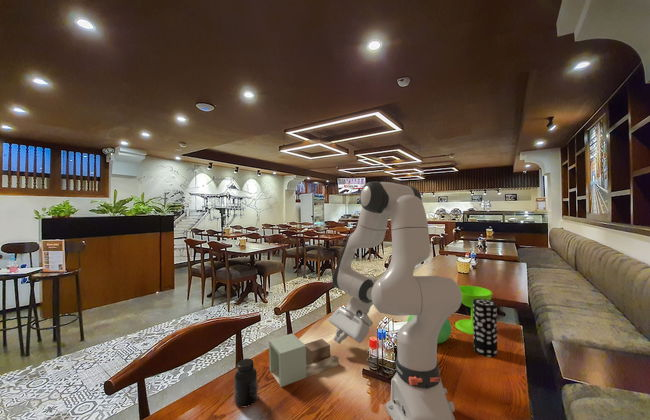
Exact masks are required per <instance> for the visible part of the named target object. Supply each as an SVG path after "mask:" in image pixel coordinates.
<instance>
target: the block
mask: <svg viewBox="0 0 650 420" xmlns="http://www.w3.org/2000/svg"><path fill="white" fill-rule="evenodd" d="M304 344H305V345H306V365H307V366H308V365H310V364H313V363H316V362H319V361H321V360H324V359H327V358H330V357H331V344H329V343H328V342H327V341H326V340H325V339H323V338H319V339H317V340H313V341H310V342H307V343H304Z"/></svg>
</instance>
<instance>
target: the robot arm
mask: <svg viewBox="0 0 650 420" xmlns="http://www.w3.org/2000/svg"><path fill="white" fill-rule="evenodd" d="M359 202H360V205H361V207H362V208H361V209H360V213H359V216H358V221H357V225H356V228H355V230H354V231H353V232H352V231H351V232H350V233H349V234H348V235H347V238H346V240H345V242H344V245H343V247H342V250H341V254H340V255H339V260H338V261H337V265H336V267H335V268H334V270H333V272H332V275H331V280H332V282H331V283H332V285H333V287H335V288H336V289H338V290H341V291H343V292H344V293H346V294H347V295H349V296H351V299H350V300H349V301H348V303H347V304H346V306H345V305H340V306H338V307H337V308H336V309H335V310H334V312H333V313H332V314H331V315H330V317H329V318H328V322H329V323H330V324H332V325H333V326H334V327H336V328H337V329H336V331H335V335H334V337H333V340H334V341H335V342H336V343H337V344H339V345H340V344H341V343H342V342H343V341H344V340H346V339H347V338H348V337H350V338H352V339H353V340H354V341H356V342H357V343H359V344H361V343H363V341H365V339H366V337H367V335H368V334H369V331H370V327H372V326H373V324H374V322H373V320H372V318H370V317H369V315H368V314H369V312H370V309H371V307H372V306H374V307H375V309H376V310H377V312H379V313H380V314H384V315H388V316H395V317H397V316H401V317H402V316H410V315H415V316H414V318H413V319H412V320H411V321H410V322H408V323H407V322H406V323H405V324H403V325H402V326H401V327H400V328H399V330H398V332H397V335H396V351H397V355H396V357H395V371H396V372H395V373H394V375H393V377H392V378H391V381H390V382H391V383H390V384H391V385H390V386H391V387H390V400H388V401H387V402H386V404H385V410H386V412H387V413H388V415H389V417H390V416H391V417H390V418H391V419H393V420H456V418H455V416H454V412H455V404H454V401H448V399H447V395H448V389H447V388H446V387H444V385H443V383H442V378H441V374H440V367H439V362H438V357H437V356H438V352H437V351H438V344H437V340H438V335H439V332H440V330H441V328H442V326H443V324H444V323H445V321H446V320H447V319H448V320H449V318H450V317H451V316H452V315H454V313H456V312H457V311H458V310H459V309H460V307H461V305H462V303H461V302H462V293H461V290H460V288H459V286H460V285H459V284H458V283H457V282H456V281H455V280H454V279H453V278H451V277H447V276H439V275H418V276H416V275H414V269H415V268H416V266H418V265H420V264H421V263H423V262H425V261H426V260H428V259H429V258H430V255H431V252H432V250H431V249H432V248H431V241H430V233H429V232H430V231H429V223H428V217H427V214H426V210H425V209H426V208H425V206H424V203H423V200H422V194H421V191H419V189H418V188H416V187H414V186H411V185H406V184H405V185H404V184H401V183H395V182H388V181H378V180H377V181H368V182H366V183H365V184H364V185H363V186H362V188H361V191H360V193H359ZM389 218H390V230H391V259H390V263H389V264H388V267H387V269H386V271H385V272H384V273H383V274H382V275H381V276H380V277H379V278H377V277H375V276H373V275H368V276H367V275H364V274H362V273H360V272H358V271H356V270H354V269H353V268H352V266H351V265H352V262H353V260H354V257H355V254H356V252H357V250H358V249H370V248H375V247H377V246H379V245H380V244H381V243H383V242H384V240H385V237H386V232H387V228H388V224H389V223H388V222H389Z"/></svg>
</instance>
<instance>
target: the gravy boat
mask: <svg viewBox="0 0 650 420" xmlns="http://www.w3.org/2000/svg"><path fill="white" fill-rule="evenodd" d="M414 316H415V315H408V318H407V322H406V324H407V323H408V322H410V321H411V320H412V319H413V318H414ZM451 335H452V323H451V322H450V320H449V318H448V319H447V320H446V321H445V323H444V324H443V326H442V328H441V330H440V332H439V335H438V340H437V345H438V344H442V343H445V342H446V341H447V340H448V339H449V338H450V336H451Z"/></svg>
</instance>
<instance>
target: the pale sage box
mask: <svg viewBox="0 0 650 420" xmlns="http://www.w3.org/2000/svg"><path fill="white" fill-rule="evenodd" d="M305 344H306V343H304V342H303V341H302V340H300V339H299V338H298V337H297V336H296V335H295V334H294V333H289V334H285V335H282V336H279V337H275V338H271V339H269V340H268V353H269V354H268V355H269V356H268V358H269V359H268V361H269V372H270V373H271V372H274V371H277V370H279V383H278V385H279V387H280V388H282V386H283V387H285V386H287V385H290V383H291V384H294V383H296V382H298V381H301V380H303V378H304V379H306V378H308V377H307V375H306V345H305ZM295 381H296V382H295Z"/></svg>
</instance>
